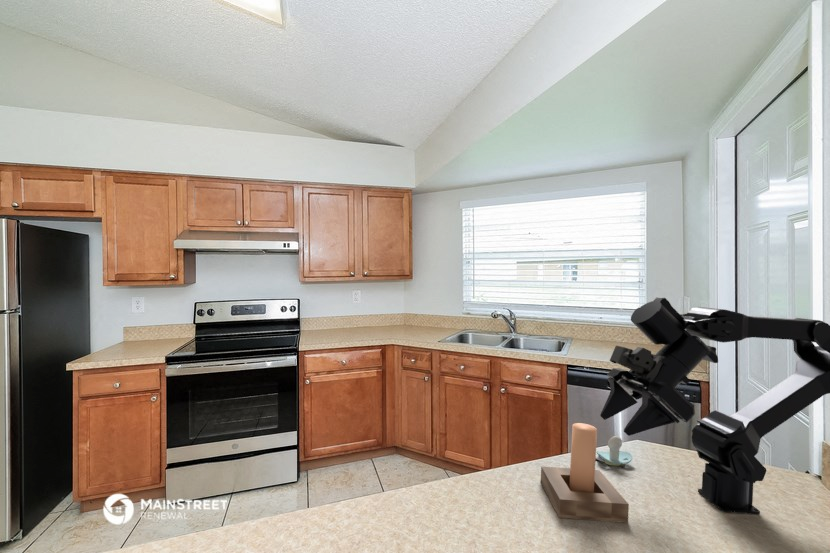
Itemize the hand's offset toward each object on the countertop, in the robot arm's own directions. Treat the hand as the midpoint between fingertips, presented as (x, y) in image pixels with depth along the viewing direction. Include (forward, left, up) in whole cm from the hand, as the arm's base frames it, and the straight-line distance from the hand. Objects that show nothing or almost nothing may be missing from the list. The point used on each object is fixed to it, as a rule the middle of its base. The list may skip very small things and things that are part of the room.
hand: (613, 425), depth 69 cm
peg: (+5, +1, -13) cm, 14 cm away
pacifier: (-7, -16, -14) cm, 22 cm away
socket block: (+5, +1, -14) cm, 15 cm away
